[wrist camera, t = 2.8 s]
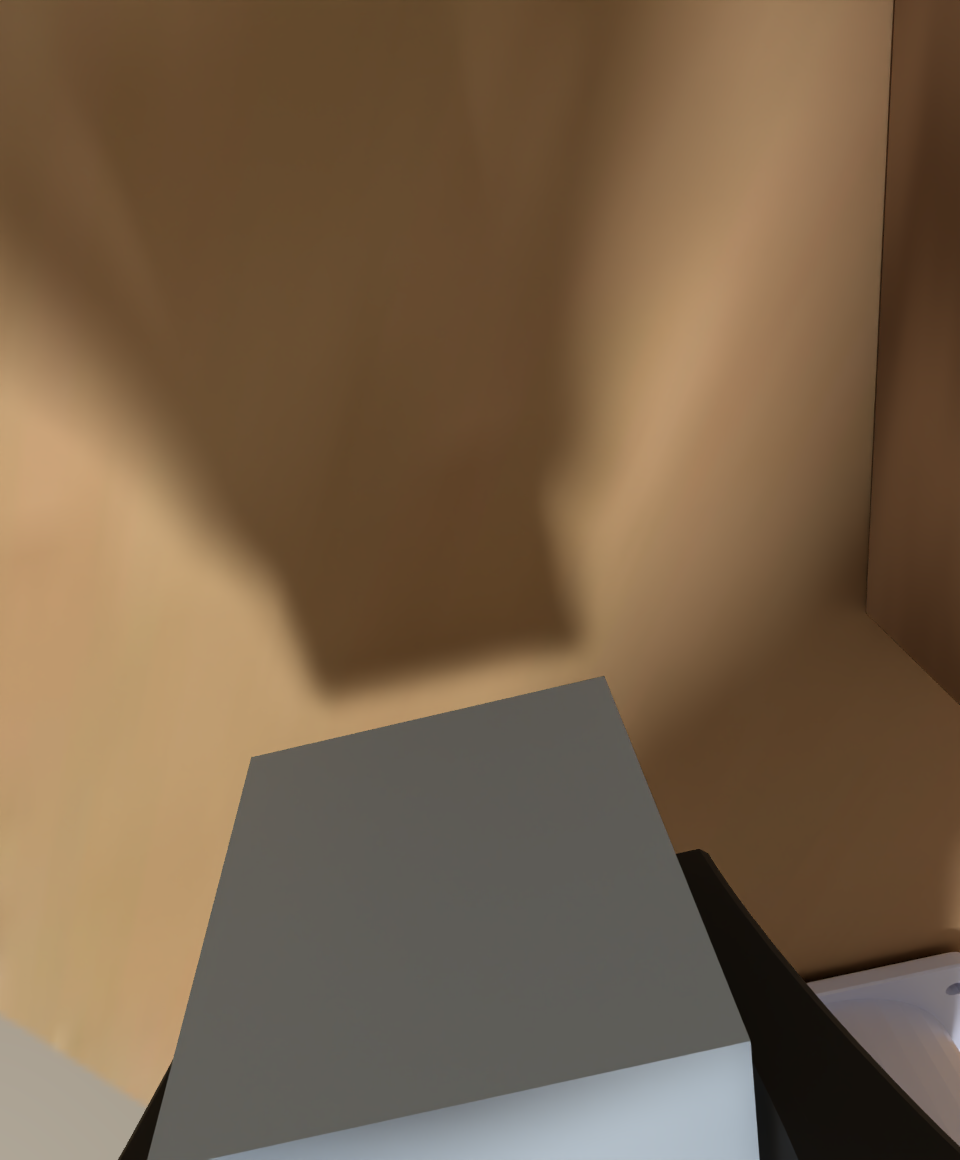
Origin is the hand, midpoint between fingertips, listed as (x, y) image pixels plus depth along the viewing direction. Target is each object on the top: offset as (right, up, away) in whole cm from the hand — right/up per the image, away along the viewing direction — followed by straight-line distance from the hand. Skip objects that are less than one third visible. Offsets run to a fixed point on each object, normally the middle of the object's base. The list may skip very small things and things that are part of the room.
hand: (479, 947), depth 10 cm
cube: (0, +1, +1) cm, 2 cm away
